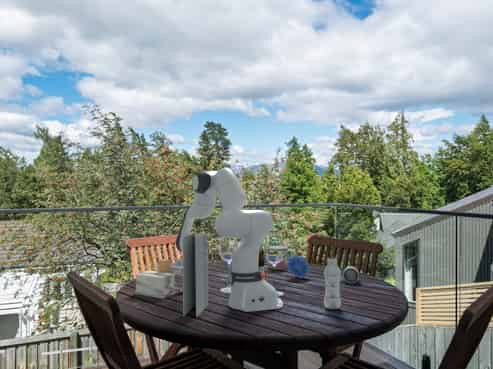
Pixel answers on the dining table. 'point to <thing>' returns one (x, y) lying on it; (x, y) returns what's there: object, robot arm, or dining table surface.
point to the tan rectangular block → (164, 266)
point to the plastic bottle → (332, 284)
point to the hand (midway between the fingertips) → (164, 272)
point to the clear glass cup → (284, 263)
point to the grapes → (298, 266)
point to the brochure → (195, 273)
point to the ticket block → (157, 284)
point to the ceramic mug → (350, 275)
